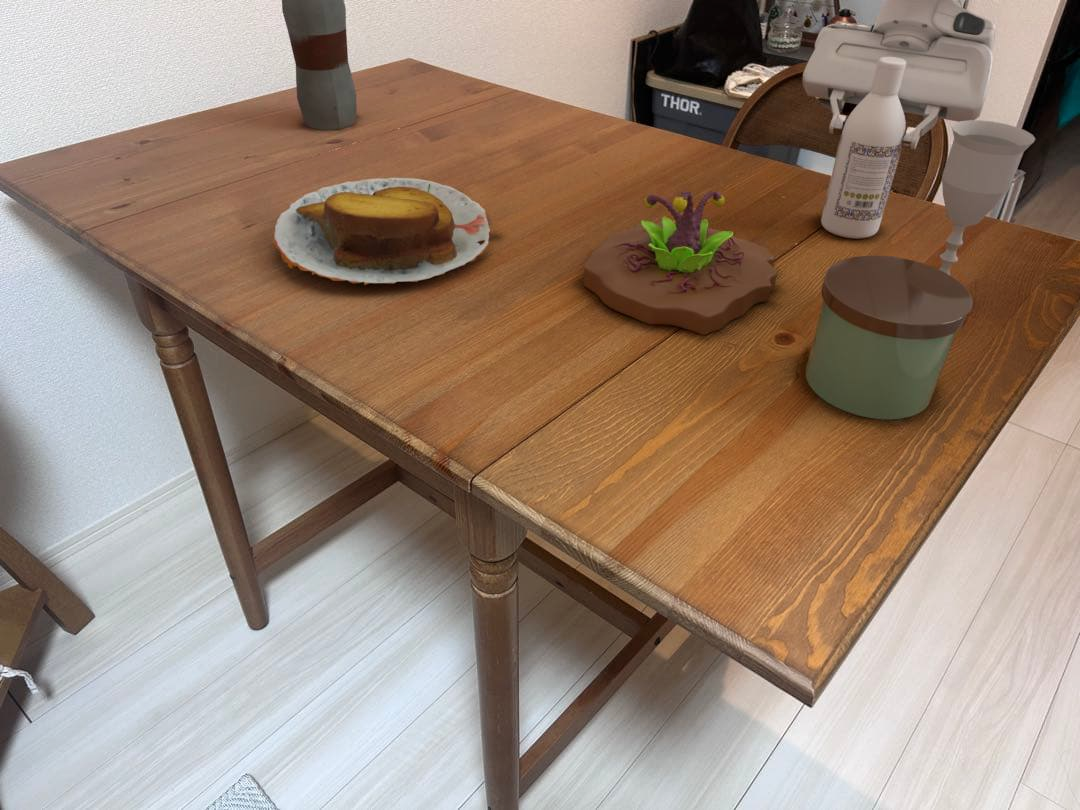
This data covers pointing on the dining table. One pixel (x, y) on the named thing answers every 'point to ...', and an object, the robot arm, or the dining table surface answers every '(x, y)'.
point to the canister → (884, 335)
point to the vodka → (321, 62)
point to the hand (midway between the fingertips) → (871, 139)
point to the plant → (680, 269)
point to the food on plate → (382, 230)
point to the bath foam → (867, 157)
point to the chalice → (978, 174)
